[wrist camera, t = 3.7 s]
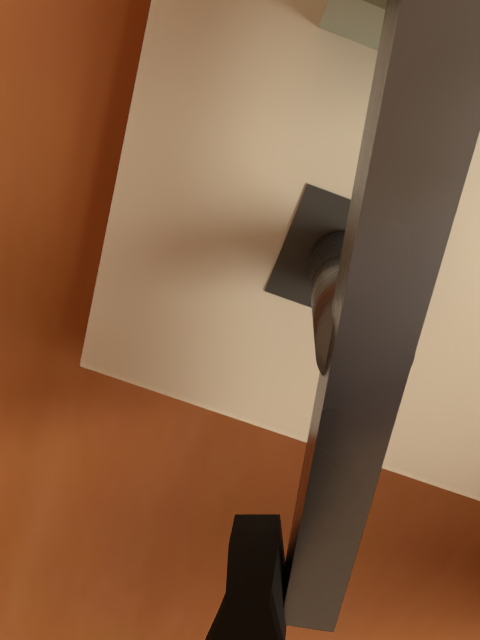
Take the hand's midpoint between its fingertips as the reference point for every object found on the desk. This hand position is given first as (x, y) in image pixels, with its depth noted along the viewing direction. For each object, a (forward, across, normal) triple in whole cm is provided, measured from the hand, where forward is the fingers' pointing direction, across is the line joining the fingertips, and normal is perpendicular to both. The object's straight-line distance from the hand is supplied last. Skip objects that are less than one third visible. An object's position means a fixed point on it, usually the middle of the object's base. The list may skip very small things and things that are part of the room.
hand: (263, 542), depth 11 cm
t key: (+4, -2, -5) cm, 7 cm away
